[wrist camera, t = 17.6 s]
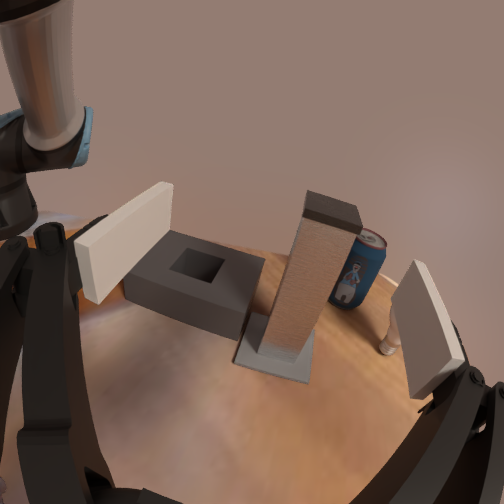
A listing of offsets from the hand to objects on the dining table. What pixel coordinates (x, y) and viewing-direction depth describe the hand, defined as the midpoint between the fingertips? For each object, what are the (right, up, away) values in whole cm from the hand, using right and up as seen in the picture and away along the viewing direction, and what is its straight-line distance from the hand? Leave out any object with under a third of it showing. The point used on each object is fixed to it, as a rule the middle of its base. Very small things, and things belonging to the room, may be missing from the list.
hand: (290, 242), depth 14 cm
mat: (+1, -12, +20) cm, 23 cm away
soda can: (+13, -8, +31) cm, 35 cm away
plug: (+1, -12, +20) cm, 23 cm away
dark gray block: (-10, -6, +25) cm, 28 cm away
